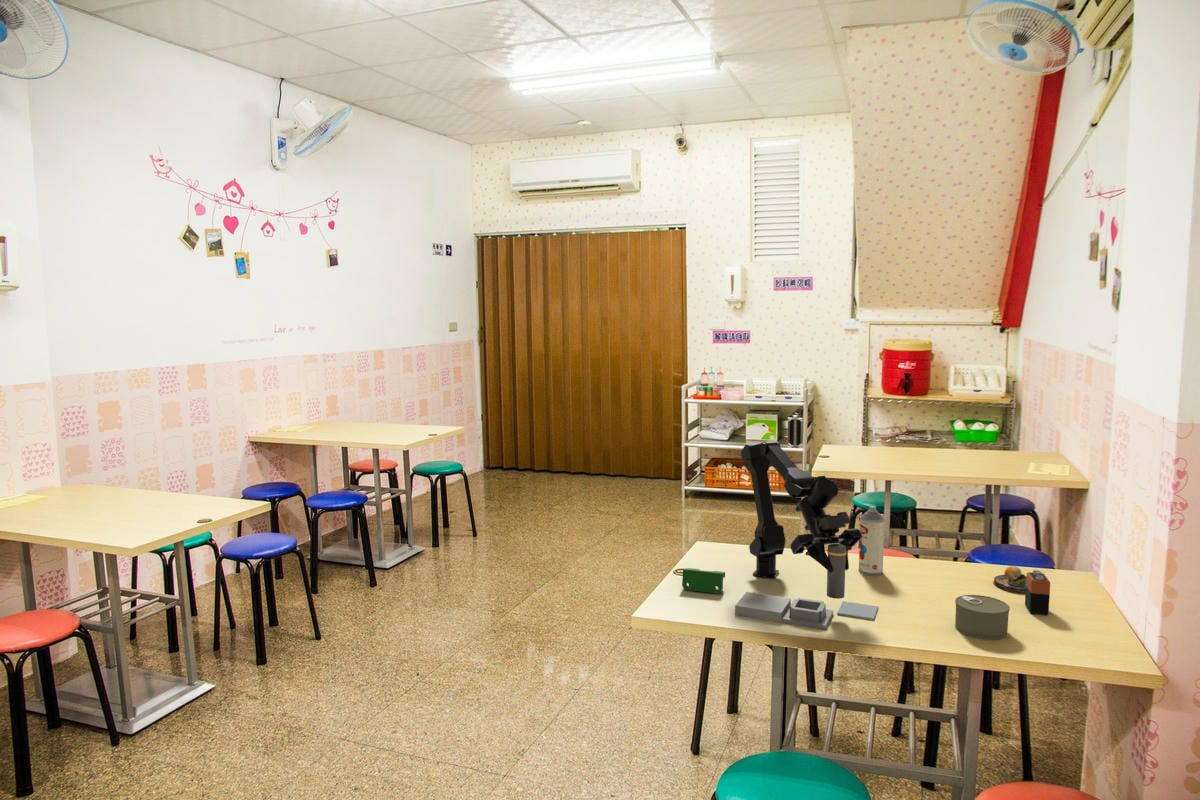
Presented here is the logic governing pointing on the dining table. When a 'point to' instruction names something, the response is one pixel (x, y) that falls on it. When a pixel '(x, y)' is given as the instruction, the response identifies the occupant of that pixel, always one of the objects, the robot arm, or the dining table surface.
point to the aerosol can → (871, 543)
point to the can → (981, 617)
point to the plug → (836, 571)
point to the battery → (1037, 593)
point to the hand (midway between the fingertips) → (839, 570)
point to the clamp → (702, 580)
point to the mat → (857, 610)
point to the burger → (1011, 580)
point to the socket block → (784, 610)
